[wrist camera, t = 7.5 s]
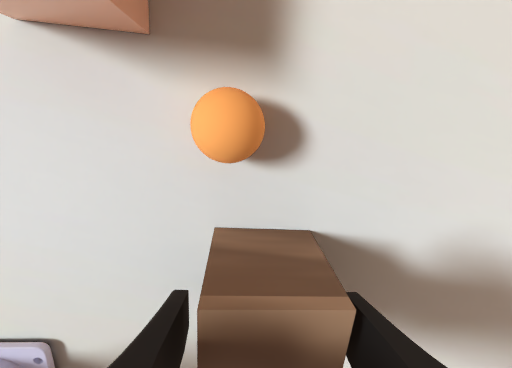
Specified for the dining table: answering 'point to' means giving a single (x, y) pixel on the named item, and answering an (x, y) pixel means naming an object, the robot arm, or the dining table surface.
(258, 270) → the brown block
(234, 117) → the orange ball
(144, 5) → the salmon pink block
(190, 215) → the dining table surface
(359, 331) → the robot arm
